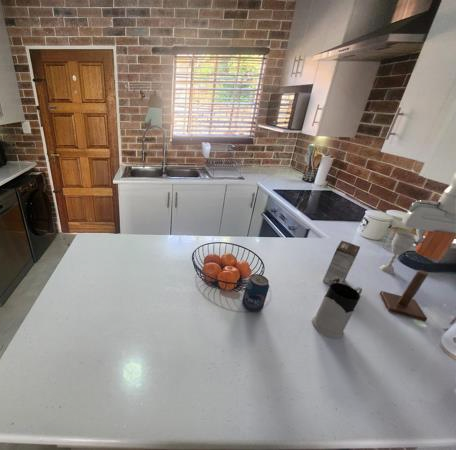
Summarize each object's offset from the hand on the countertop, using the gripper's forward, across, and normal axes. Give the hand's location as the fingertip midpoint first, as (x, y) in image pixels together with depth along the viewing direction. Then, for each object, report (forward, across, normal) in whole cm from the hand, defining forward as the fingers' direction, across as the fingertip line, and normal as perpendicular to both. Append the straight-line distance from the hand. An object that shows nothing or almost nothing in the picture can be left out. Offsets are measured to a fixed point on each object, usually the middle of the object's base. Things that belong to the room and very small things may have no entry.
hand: (434, 244), depth 80 cm
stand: (+25, 0, -2) cm, 25 cm away
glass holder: (+25, -24, -24) cm, 42 cm away
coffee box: (+25, -20, +4) cm, 32 cm away
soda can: (+25, -49, -28) cm, 61 cm away
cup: (+4, 0, 0) cm, 4 cm away
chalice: (+25, +3, +24) cm, 35 cm away
